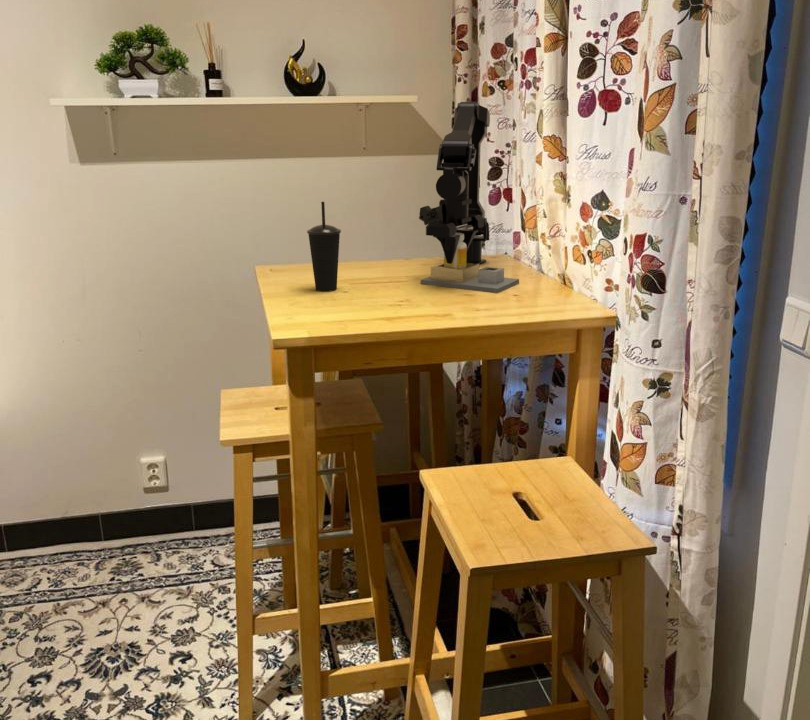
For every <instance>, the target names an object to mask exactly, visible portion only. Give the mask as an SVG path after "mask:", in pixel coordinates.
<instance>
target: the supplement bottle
mask: <svg viewBox="0 0 810 720" xmlns="http://www.w3.org/2000/svg"><path fill="white" fill-rule="evenodd" d="M456 235H460V238H459V242H458V245H457V249H456V252H455V256H454V259H453V262H452V263H451V264H448V263H447V260H446V257H445V254H444V253H443V262H444V267H447V268H457V269H462V268H465V267H466V256H467V245H466V244H465V243H464V242H463V240H464V234H463V233H456Z"/></svg>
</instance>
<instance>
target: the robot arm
mask: <svg viewBox="0 0 810 720" xmlns="http://www.w3.org/2000/svg"><path fill="white" fill-rule="evenodd" d="M453 119H454V120H453V123H454V124H453V127H452V130H451V132H450V133H447V134H446V135H445V136H444V137H443V140H442V142H441V143H440V144H439V148H438V155H437V160H436V162H437V163H436V171H442V175H440V176H439V177H438V179H437V181H436V183H435V190H436V193H437V194H438V196H439V197H440V198H441V199H440V200H439V202H438V206H435V207H430V205H425V206H422V207H420V208H419V216H418V219H419V220H420V221H422V222H423V225H424V226H425V235H426V236H431V237H433V238H436V239H437V240H438V241H439V242H440V244H441V247H442V250H443V255H444V254H445V257H446V260H447V263H448V264H451V263H452V262H453V259H454V256H455V252H456V249H457V245H458V242H459V238H460V235H456V233H463V234H464V240H463V242H464V243H465V244H466V245H467V256H466V263H473V264H479V265H480V264H482V263H485V262H487V259H484V258H482V251H483V250H482V247H483V244H482V243H483V242H486V241H490V226H489V225H490V223H489V222H488V220H487V219H488V218H487V217H485V216H486V215H485V214H486V213H485V212H486V211H485V209H484V207H483V206H482V204H481V202H480V177H481V172H480V171H481V144H482V142H483V141H484V139H485V138H486V136H487V134H488V128H489V127H490V123H491V113H490V111H489V109H488V107H485V106H482V105H480V103H479V102H477V101H461V102H458V103H457V107H455V108H454V118H453Z"/></svg>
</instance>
